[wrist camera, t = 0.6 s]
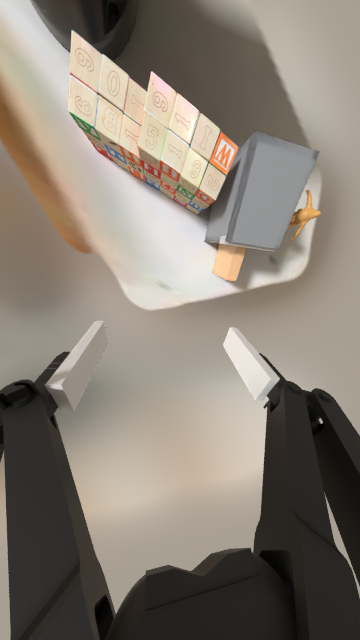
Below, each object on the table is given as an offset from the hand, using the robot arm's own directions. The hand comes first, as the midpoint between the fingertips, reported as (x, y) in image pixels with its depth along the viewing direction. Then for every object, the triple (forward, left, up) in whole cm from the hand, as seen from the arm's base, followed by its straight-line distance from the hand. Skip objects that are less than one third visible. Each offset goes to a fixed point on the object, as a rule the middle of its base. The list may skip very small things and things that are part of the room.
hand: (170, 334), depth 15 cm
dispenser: (-16, +14, -26) cm, 34 cm away
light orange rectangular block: (-10, +14, -26) cm, 31 cm away
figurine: (-17, +26, -27) cm, 41 cm away
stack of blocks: (-21, -3, -27) cm, 34 cm away
